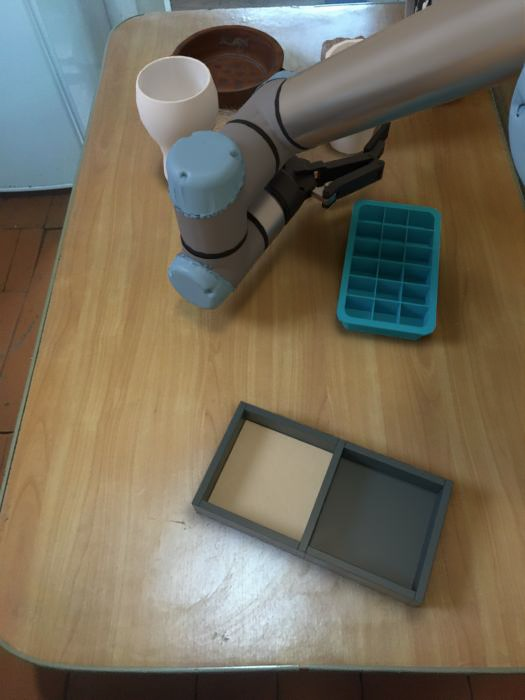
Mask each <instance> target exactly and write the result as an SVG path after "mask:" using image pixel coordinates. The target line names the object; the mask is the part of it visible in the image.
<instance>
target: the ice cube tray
mask: <svg viewBox="0 0 525 700" xmlns="http://www.w3.org/2000/svg"><path fill="white" fill-rule="evenodd" d="M350 218H351V219H350V225H349V231H348V237H347V243H346V250H345V256H344V262H343V269H342V276H341V283H340V288H339V295H338V296H339V297H338V301H337V307H336V317H337V319H338V321H340V322H341V323H342V326H343V327H344V328H345V329H346V331H353V332H359V333H366V334H373V335H379V336H386V337H391V338H399V339H405V340H412V341H417V340H419V339H421V338H422V336H423V337H426V336H428V335H431V334H433V332H434V330H435V329H436V326H437V307H438V306H437V305H438V287H439V286H438V285H439V269H440V268H439V267H440V266H439V265H440V247H441V227H442V214H441V212H440V211H439V210H438V209H436V208H434V207H431V206H422V205H413V204H408V203H407V204H406V203H397V202H389V201H382V200H374V199H366V198H362V199H359V200H356V201H355V202H354V203H353V205H352V211H351V217H350Z"/></svg>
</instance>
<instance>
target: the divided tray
mask: <svg viewBox="0 0 525 700" xmlns="http://www.w3.org/2000/svg"><path fill="white" fill-rule="evenodd" d="M454 485H455V482H454V481H453V480H450V479H448V478H445V477H443V476H440V475H436V474H435V473H432V472H429V471H426V470H424V469H422V468H419V467H416V466H413V465H411V464H409V463H405V462H403V461H400V460H398V459H395V458H393V457H390V456H387V455H386V454H385V455H384V454H382V453H380V452H377V451H374V450H371V449H370V448H369V449H368V448H366V447H363V446H361V445H358V444H355V443H353V442H350V441H348V440H345V439H343V438H340V437H338V436H335V435H333V434H329V433H327V432H324V431H322V430H319V429H317V428H314V427H311V426H309V425H306V424H303V423H301V422H299V421H296V420H293V419H291V418H288V417H285V416H283V415H281V414H277V413H275V412H272V411H270V410H267V409H264V408H262V407H259V406H256V405H254V404H251V403H249V402H245V401H243V400H240V401H239V403H238V406H237V408H236V410H235V412H234V414H233V415H232V418H231V420H230V422H229V424H228V426H227V428H226V430H225V433H223V437H222V438H221V440H220V443H219V445H218V446H217V448H216V451H215V453H214V455H213V457H212V460H211V461H210V463H209V466H208V467H207V469H206V472H205V474H204V476H203V478H202V480H201V481H200V483H199V486H198V489H197V490H196V493H195V494H194V497H193V499H192V501H191V503H190V504H191V506H192V507H193V510H194V511H195V513H196V514H199V515H202V516H203V517H206V518H208V519H210V520H213V521H215V522H217V523H219V524H222V525H224V526H227V527H229V528H231V529H233V530H236V531H238V532H240V533H243V534H245V535H248V536H249V537H252V538H254V539H256V540H259V541H261V542H263V543H265V544H268V545H270V546H273V547H275V548H276V549H279V550H282V551H284V552H285V553H289V554H291V555H293V556H295V557H296V558H299V559H303V560H305V561H307V562H309V563H311V564H314V565H317V566H318V567H320V568H322V569H325V570H327V571H330V572H332V573H334V574H336V575H339V576H341V577H343V578H346V579H347V580H350V581H352V582H355V583H356V584H360V585H361V586H364V587H367V588H369V589H371V590H373V591H376V592H377V593H379V594H382V595H384V596H387V597H389V598H391V599H394V600H395V601H398V602H401V603H402V604H406V605H407V606H410V607H412V608H415V607H419V606H421V605H423V604H424V600H425V596H426V592H427V589H428V584H429V581H430V576H431V573H432V569H433V566H434V561H435V557H436V554H437V550H438V546H439V542H440V537H441V534H442V532H443V531H442V530H443V526H444V523H445V519H446V515H447V511H448V508H449V507H448V506H449V503H450V501H451V496H452V492H453V487H454Z"/></svg>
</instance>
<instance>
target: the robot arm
mask: <svg viewBox="0 0 525 700" xmlns="http://www.w3.org/2000/svg"><path fill="white" fill-rule="evenodd" d="M364 38H365V39H363V40H361V41H359V42H357V43H355V44H353V45H352V46H350V47H348V48H346V49H344V50H342V51H340V52H338V53H336V54H334V55H332V56H330V57H328V58H326V59H324V60H322V61H321V60H320V61H318V62H316V63H314V64H312V65H310V66H308V67H307V68H304V69H302V70H299V71H291V70H288V69H285V71H281V72H278V73H276V74H274V75H273V76H272V77H271V78H270V79H269V80H267V81H266V82H264V83H263V84H262V85H260V86H259V87H258V88H257V89H256V90H255V92H254V94H253V95H252V96H251V97H250V99H249V100H248V101H247V102H246V103H245V104H244V105H241V107H240V108H239V109H238V110H237V111H236V112H235V114H234V115H232V117H231V118H229V120H228V121H227V122H226V123H225V124H224V125H223V126H222V127H220V129H219V130H218V131H215V130H213V131H197V132H194V133H192V135H191V136H190V137H182V138H180V139H179V140H178V141H177V142H176V143H174V145H173V146H172V147H171V149H170V150H169V152H168V155H167V159H166V170H167V176H168V180H167V184H168V190H167V191H168V196H169V200H170V201H171V203H172V207H173V210H174V214H175V218H176V222H177V225H178V230H179V234H180V235H179V237H180V243H181V247H182V249H181V251H180V252H179V253H177V254H176V255H175V256H174V258H173V260H172V261H171V263H170V264H169V266H168V269H167V277H168V281H169V283H170V284H171V286H172V287H173V289H174V290H175V291H176V292H177V294H179V295H180V296H181V297H182V299H184V300H186V301H187V302H188V303H190V304H191V305H193V306H194V307H197V308H199V309H202V310H207V311H208V310H210V311H212V310H216V309H217V308H219V307H220V306H221V305H222V304H223V303H224V302H225V301H226V300H227V299H228V298H229V296H230V295H231V294H232V293H235V292H236V290H237V288H238V286H239V285H240V284H241V283H242V282H243V280H244V279H245V277H246V276H247V275H248V274H249V272H250V271H251V270H252V268H253V267H254V266H255V265H256V263H257V262H258V261H259V259H260V258H261V257H262V256H263V254H265V252H266V251H267V249H269V247H270V246H271V245H272V243H273V242H274V241H275V240H276V239H277V237H279V235H280V234H281V233H282V231H283V230H284V228H285V227H286V226H287V225H288V224H289V222H290V221H291V220H292V219H293V218H294V216H295V215H296V214H297V212H298V211H300V209H301V207H302V206H303V205H304V203H305V201H307V200H309V199H311V198H313V199H315V200H317V201H319V202H320V203H321V204H320V206H321V208H322V209H323V210H329V209H330V208H331V207H332V206H333V205H334V204H335V203H336V202H337V201H339V200H341V199H343V198H345V197H347V196H349V195H352V194H353V193H356V192H358V191H360V190H362V189H364V188H366V187H368V186H370V185H372V184H375V183H377V182H379V181H381V180H382V179H383V177H384V176H383V175H384V170H385V165H386V162H385V160H383V159H380V158H381V157H382V156H383V154H384V152H385V148H386V141H387V140H388V138H389V133H390V128H391V124H392V122H395V121H397V120H401V119H403V118H407V117H410V116H413V115H415V114H418V113H421V112H424V111H427V110H430V109H434V108H436V107H439V106H442V105H446V104H448V103H451V102H454V101H457V100H460V99H463V98H466V97H468V96H472V95H475V94H478V93H481V92H484V91H486V90H490V89H492V88H495V87H499V86H501V85H504V84H507V83H510V82H513V81H516V80H517V81H516V85H515V87H514V91H513V94H512V98H511V103H510V108H509V115H508V140H509V147H510V153H511V157H512V160H513V163H514V166H515V170H516V172H517V174H518V176H519V179H520V180H521V182H522V184H523V186H524V187H525V0H440V1H438V2H436V3H434V4H432V5H430V6H428V7H426V8H425V9H423V10H421V11H419V12H417V13H415V14H413V15H411V16H409V17H407V18H405V17H404V18H403V19H401V20H398V21H397V22H395V23H393V24H391V25H389V26H387V27H385V28H383V29H381V30H379V31H377V32H375V33H373V34H371V35H370V36H367V37H364ZM374 127H375V128H377V127H379V128H378V129H377V130H376V131H375V132H374V133H373V135H372V138H371V139H370V140H369V141H368V143H367V144H366V145H365V147H364V149H363V151H362V153H357V154H354V155H350V156H346V157H341V158H337V159H332V160H329V161H324V160H321V159H320V160H316V161H312V162H311V160H309V159H307V158H302V157H299V156H298V155H299V154H302V153H305V152H308V151H310V150H313V149H316V148H318V147H321V146H324V145H327V144H330V143H329V142H332V141H335V140H338V139H341V138H344V137H347V136H350V135H353V134H356V133H359V132H362V131H365V130H368V129H371V128H374ZM315 172H316V173H315ZM315 174H316V175H315Z"/></svg>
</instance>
